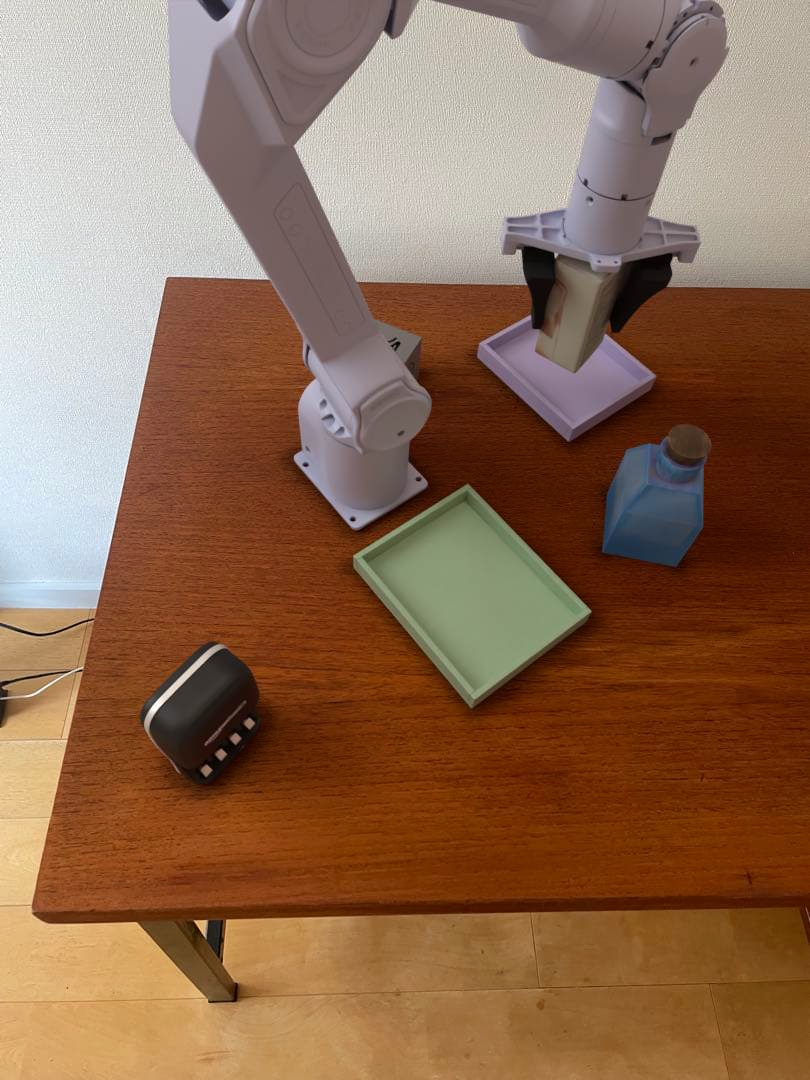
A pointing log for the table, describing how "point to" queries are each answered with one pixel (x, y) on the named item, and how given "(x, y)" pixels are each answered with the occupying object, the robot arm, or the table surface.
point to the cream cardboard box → (577, 312)
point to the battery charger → (204, 713)
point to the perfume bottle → (658, 498)
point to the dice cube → (403, 346)
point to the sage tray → (470, 593)
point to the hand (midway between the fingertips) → (574, 322)
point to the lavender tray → (565, 379)
